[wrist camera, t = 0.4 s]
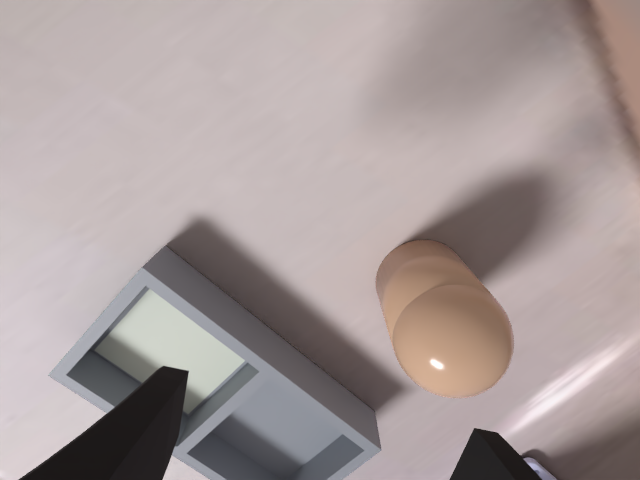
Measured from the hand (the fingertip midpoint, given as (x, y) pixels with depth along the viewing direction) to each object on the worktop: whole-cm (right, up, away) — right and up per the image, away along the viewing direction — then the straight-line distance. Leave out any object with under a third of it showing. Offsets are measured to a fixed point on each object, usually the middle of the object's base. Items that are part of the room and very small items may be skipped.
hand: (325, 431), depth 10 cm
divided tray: (-5, -3, +12) cm, 13 cm away
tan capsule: (+5, +3, +10) cm, 11 cm away
